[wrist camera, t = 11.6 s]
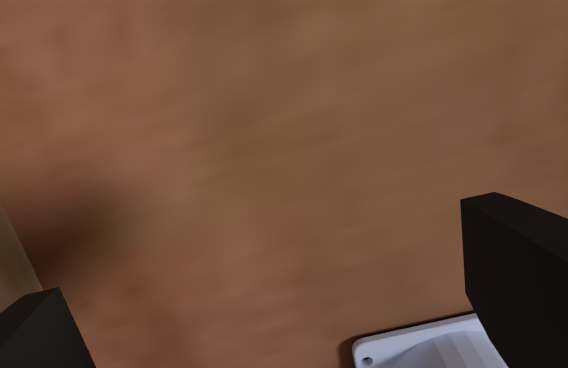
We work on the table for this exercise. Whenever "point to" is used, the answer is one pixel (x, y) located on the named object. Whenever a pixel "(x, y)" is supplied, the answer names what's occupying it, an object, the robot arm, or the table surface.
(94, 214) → the table surface
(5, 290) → the walnut rail
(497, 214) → the robot arm
